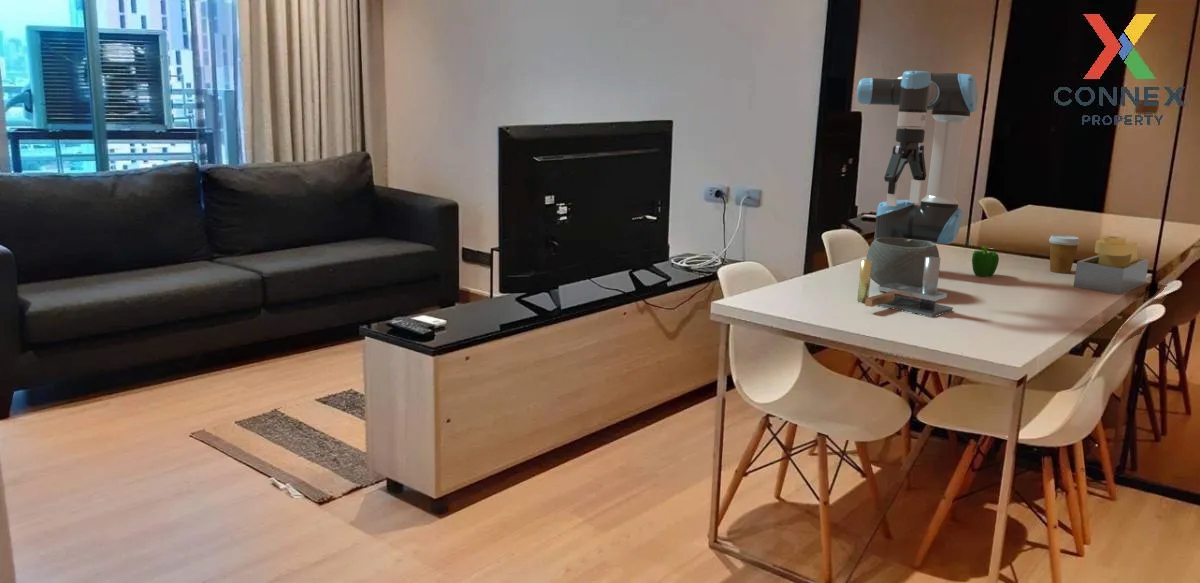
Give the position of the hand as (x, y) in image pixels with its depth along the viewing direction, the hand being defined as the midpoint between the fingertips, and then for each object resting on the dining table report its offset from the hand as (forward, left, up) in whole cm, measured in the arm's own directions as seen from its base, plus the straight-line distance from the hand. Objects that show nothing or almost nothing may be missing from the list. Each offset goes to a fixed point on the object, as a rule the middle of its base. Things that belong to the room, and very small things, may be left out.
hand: (902, 204), depth 262 cm
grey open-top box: (+33, +77, -28) cm, 88 cm away
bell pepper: (0, +58, -28) cm, 64 cm away
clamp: (+34, +78, -28) cm, 89 cm away
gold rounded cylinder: (-5, -9, -28) cm, 30 cm away
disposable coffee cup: (+14, +87, -28) cm, 92 cm away
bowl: (-6, +14, -28) cm, 32 cm away
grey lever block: (+8, -9, -28) cm, 30 cm away
